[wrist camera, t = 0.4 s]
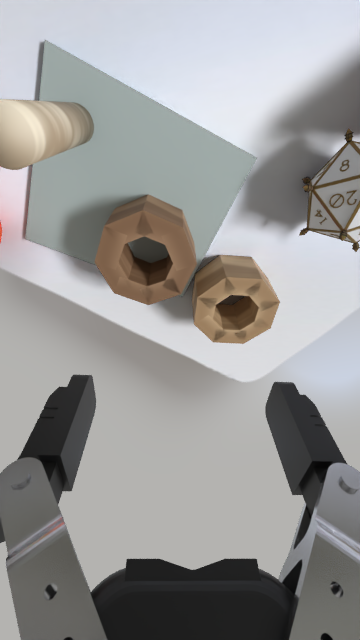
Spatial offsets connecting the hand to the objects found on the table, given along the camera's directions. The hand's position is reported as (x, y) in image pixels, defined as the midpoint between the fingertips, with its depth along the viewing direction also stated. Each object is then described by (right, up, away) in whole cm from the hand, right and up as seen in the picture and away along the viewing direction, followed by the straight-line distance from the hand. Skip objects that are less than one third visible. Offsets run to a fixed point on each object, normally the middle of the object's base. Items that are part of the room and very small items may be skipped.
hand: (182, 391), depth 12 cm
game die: (+14, +16, +14) cm, 26 cm away
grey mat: (-5, +15, +15) cm, 21 cm away
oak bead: (+6, +7, +21) cm, 23 cm away
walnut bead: (-3, +11, +17) cm, 20 cm away
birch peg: (-9, +19, +10) cm, 24 cm away
